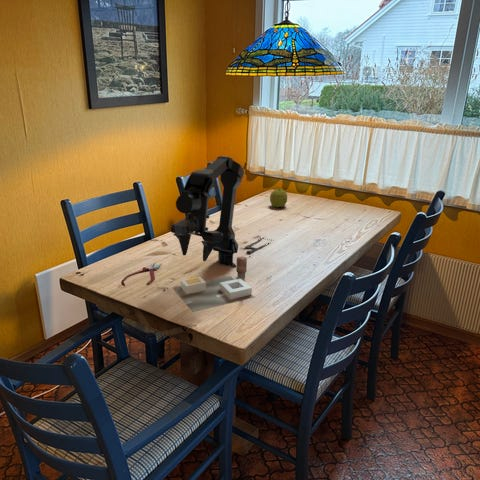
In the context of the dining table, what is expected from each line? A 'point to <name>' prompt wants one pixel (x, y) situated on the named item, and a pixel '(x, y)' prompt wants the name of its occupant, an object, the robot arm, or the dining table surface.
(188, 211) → the robot arm
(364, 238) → the dining table surface
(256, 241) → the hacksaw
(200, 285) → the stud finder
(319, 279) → the dining table surface
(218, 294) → the board
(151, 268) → the pliers
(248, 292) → the pilot socket
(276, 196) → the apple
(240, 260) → the brown wooden peg
